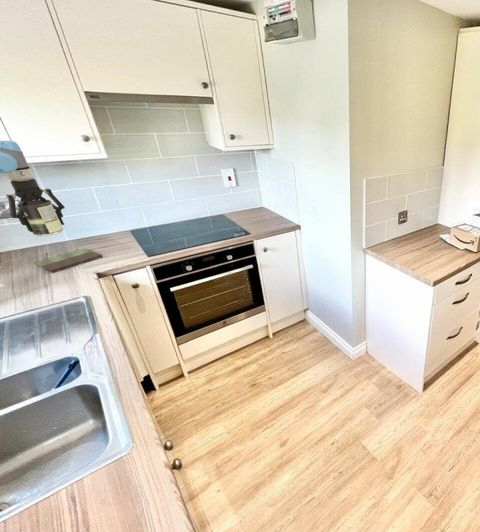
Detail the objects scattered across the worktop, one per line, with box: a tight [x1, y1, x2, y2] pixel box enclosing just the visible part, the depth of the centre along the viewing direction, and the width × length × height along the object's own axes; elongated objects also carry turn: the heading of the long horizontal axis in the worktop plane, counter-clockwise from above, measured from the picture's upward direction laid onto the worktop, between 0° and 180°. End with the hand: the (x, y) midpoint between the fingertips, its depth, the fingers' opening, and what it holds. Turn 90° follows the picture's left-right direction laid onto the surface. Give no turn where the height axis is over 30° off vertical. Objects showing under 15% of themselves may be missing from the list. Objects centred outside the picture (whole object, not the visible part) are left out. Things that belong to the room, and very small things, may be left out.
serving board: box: [35, 248, 103, 274], centre depth 162 cm, size 20×16×2 cm
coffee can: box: [17, 199, 65, 237], centre depth 146 cm, size 10×10×14 cm
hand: (47, 227), depth 148 cm, fingers closed on coffee can, 10 cm apart
